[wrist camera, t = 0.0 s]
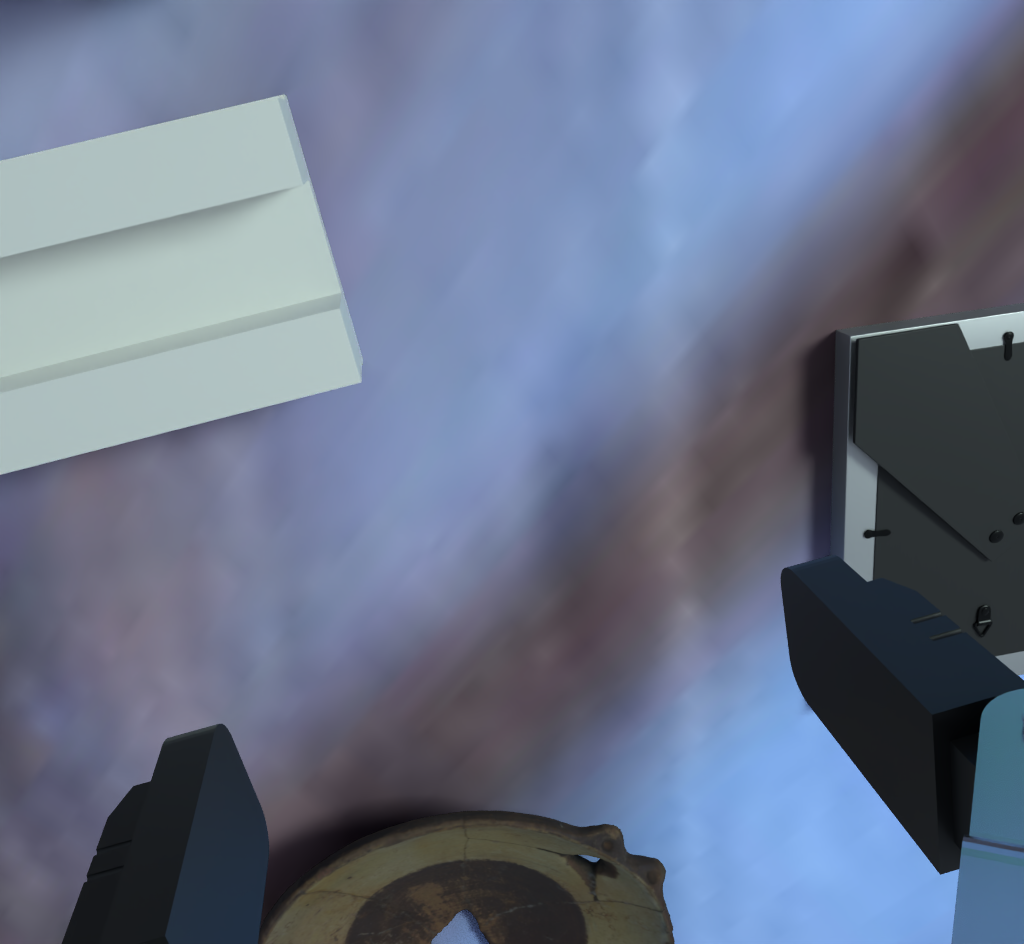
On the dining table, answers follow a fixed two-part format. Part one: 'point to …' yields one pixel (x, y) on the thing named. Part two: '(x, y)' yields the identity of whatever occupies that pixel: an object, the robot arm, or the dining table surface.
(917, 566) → the picture frame
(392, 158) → the dining table surface
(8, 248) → the rail
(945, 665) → the robot arm
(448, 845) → the oil lamp
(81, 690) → the dining table surface
